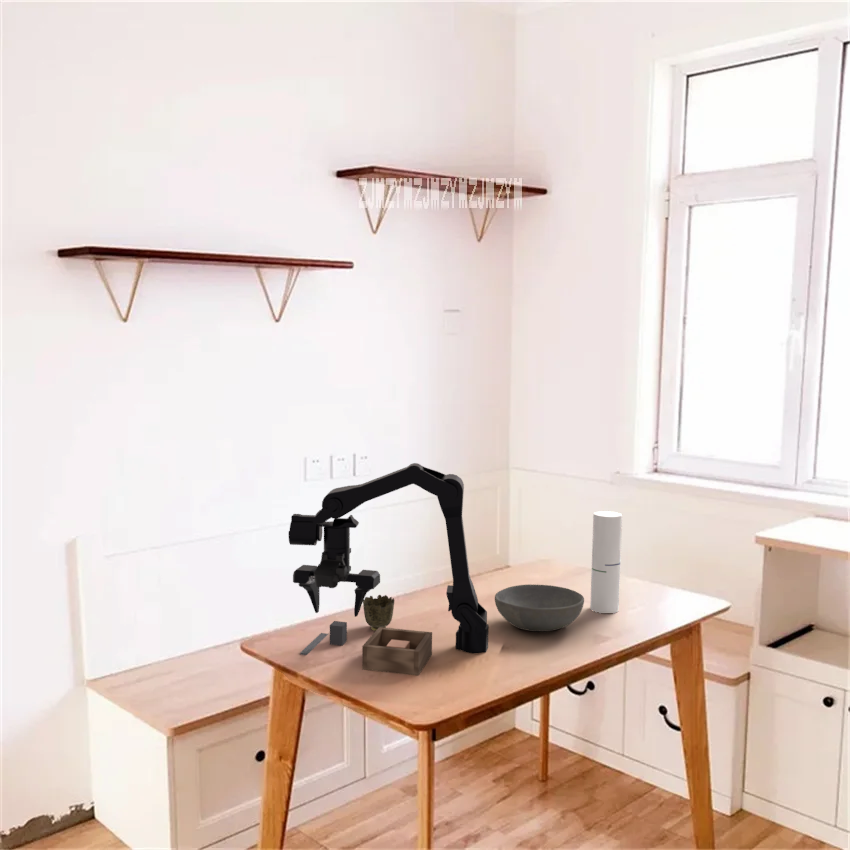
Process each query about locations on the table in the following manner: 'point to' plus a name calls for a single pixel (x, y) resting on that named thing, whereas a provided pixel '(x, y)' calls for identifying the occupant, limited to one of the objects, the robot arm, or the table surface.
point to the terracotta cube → (399, 644)
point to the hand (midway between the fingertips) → (336, 614)
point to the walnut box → (397, 651)
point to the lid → (336, 636)
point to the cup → (378, 611)
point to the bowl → (539, 606)
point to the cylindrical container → (606, 561)
